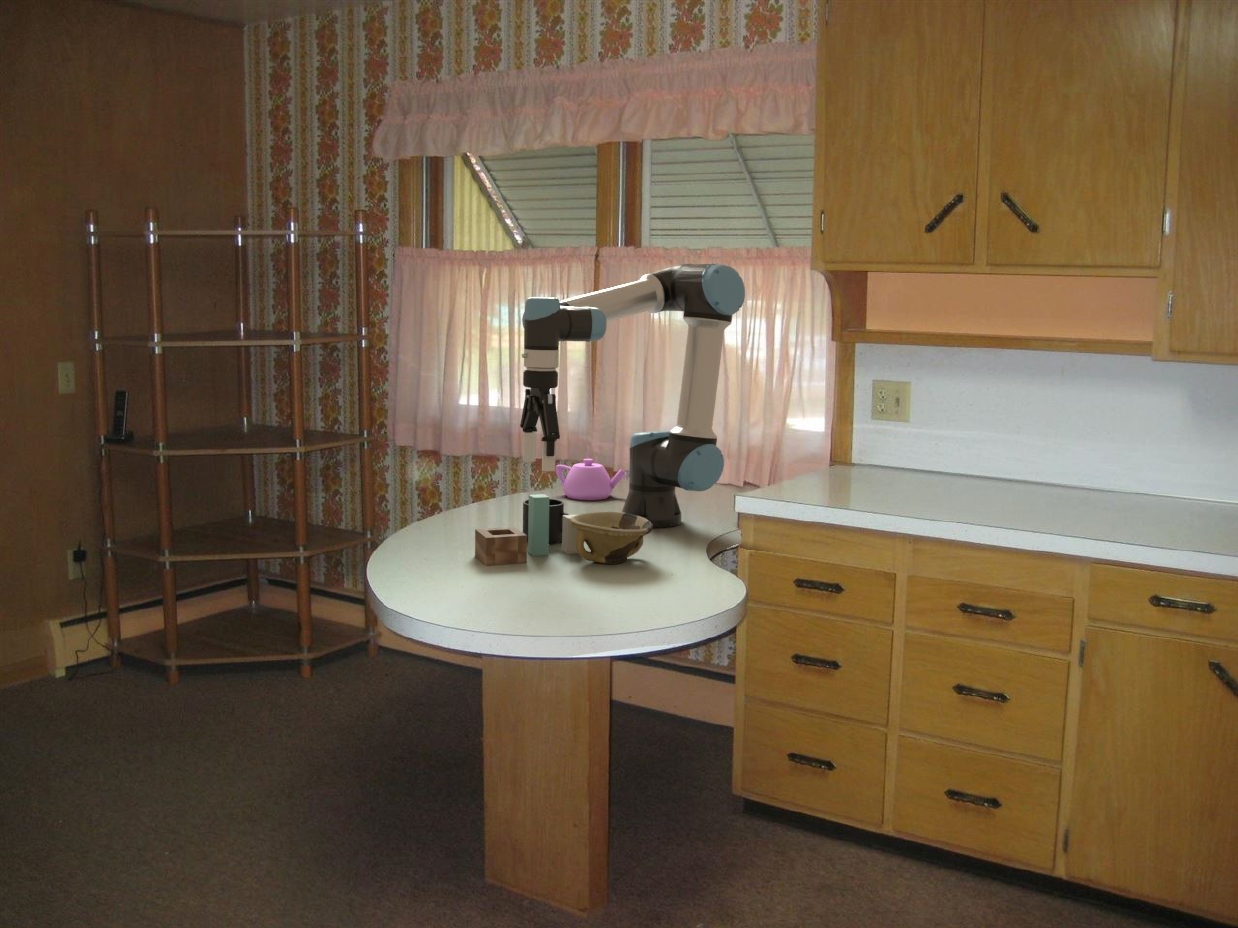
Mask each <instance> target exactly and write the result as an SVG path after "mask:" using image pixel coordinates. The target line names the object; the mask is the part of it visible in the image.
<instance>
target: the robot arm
mask: <svg viewBox="0 0 1238 928" xmlns="http://www.w3.org/2000/svg"><path fill="white" fill-rule="evenodd" d="M745 298H746V289H745V282H744V281H743V278H742V277H741V276H740V273H739V272H738V271H737V270H736V269H735V268H734V267H732V266H729V265H726V264H719V263H683V264H676V265H674V266H671V267H670V266H669V267H667V268H664V269H660V270H657V271H654V272H651V273H646V274H644V275H642V276H641V278H640V279H639V280H637V281H632V282H628V283H625V284H620V285H617V286H614V287H613V286H612V287H610V288H606V289H601V290H597V291H593V292H590V293H586V294H582V295H578V296H573V297H571V298H566V299H562V300H560V299H559V298H558V297H545V296H543V297H541V296H531V297H528V298H526V301H525V302H524V303H525V305H524V312H523V314H522V318H521V322H522V327H523V353H521V358H523V367H524V368H525V369H524V370H523V375H522V378H523V379H522V385H523V386H524V387H525V390H524V392H525V393H524V394H525V396H524V402H523V406H522V407H523V408H522V413H521V417H520V418H521V419H520V425H519V426H520V428H521V429H522V432H523V436H522V438H523V441H522V442H523V444H522V445H523V446H522V449H523V450H522V462H524V463H528V462H530V463H531V462H536V460H537V459H536V452H537V451H536V449H537V432H538V428H537V424H538V420H539V421H540V426H541V430H542V434H543V435H542V438H541V440H540V441H541V442H542V443H541V444H542V446H541V451H542V453H541V471H542V472H556V446H557V443H556V442H557V440H560V437H561V434H560V428H559V420H558V411H557V406H556V404H557V403H556V402H557V401H556V397H557V396H556V394H555V393H551V391H550V390H551V389H555V388H557V387H558V385H559V372H558V370H557V369H558V368H559V365H560V364H559V362H560V361H559V360H560V353H559V352H560V349H559V348H560V347H559V345H560V342H587V343H590V342H596V341H597V342H598V341H599V340H602V338H604V336H605V334H606V331H607V323H609V322H611V321H615V320H619V319H623V318H626V317H630V316H635V315H637V314H641V313H645V312H648V313H651V314H659V313H661V312H683V315H682V319H683V320H684V322H685V323H686V324H687V326H688V327H687V335H686V345H685V353H684V359H683V360H684V361H683V367H682V368H683V369H682V375H681V377H682V378H681V386H680V394H679V400H678V401H679V402H678V403H679V404H678V410H677V418H676V419H677V420H676V425H675V426H674V427H673V428H672V429H671V430H663V431H662V430H659V431H657V430H655V431H641V432H635V433H633V434H632V436H631V438H630V445H629V483H628V488H629V489H628V493H627V496H626V499H625V503H624V504H623V505H624V506H623V508H622V510H621V512H623V513H628V514H632V515H637V516H640V517H643V518H645V519H647V520H648V521H650V522H651V523H652V524H653V528H655V529H656V528H659V529H661V528H669V527H670V528H671V527H676V526H679V525H681V524H682V511H681V509H680V508H681V507H680V504H679V501H678V498H677V494H676V488H680V489H683V490H684V491H688V492H689V491H690V492H691V491H692V492H704V491H707V490H710V489H711V488H712V487H714V484H716V483H718V482H719V480H720V478H721V476H722V474H723V471H724V466H725V458H724V454H723V453H722V451H721V449H720V448H719V447H718V446H717V442H718V436H717V434H716V433H715V432H714V430H713V424H714V417H715V416H714V415H715V407H716V400H717V390H718V384H719V374H720V365H721V359H722V351H723V342H724V334H725V330H726V329H727V328H728V327H730V326H731V324H732V322H733V321H732V320H733V315H735V314H736V313H738V312H739V311H740V308H742V307H743V305H744V302H745ZM653 528H652V529H653Z"/></svg>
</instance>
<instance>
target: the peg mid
mask: <svg viewBox="0 0 1238 928" xmlns="http://www.w3.org/2000/svg"><path fill="white" fill-rule="evenodd" d="M576 515H577V514H569V515H563V525H562V541H561V542H562V543H561V550H562V552H564V553H565V554H567V555H571V554H579V553H578V552H577V549H576V539H577V536H578V532H579V531H578V530H577V529H576V528H574V527H572V525H571V521H570V519H571V518H572V517H574V516H576Z"/></svg>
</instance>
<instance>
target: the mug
mask: <svg viewBox="0 0 1238 928" xmlns="http://www.w3.org/2000/svg"><path fill="white" fill-rule="evenodd" d="M564 507H565V504H564V501H563V500H559V499H554V498H549V545H554V544H559V543H561V542H562V525H563V515H570V514H569V513H567V512H565V511H564V509H565V508H564ZM528 512H529V499H526V500H524V501H523V502H522V532H523V533H524V534H526V535H527V542H528Z"/></svg>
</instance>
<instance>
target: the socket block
mask: <svg viewBox="0 0 1238 928" xmlns="http://www.w3.org/2000/svg"><path fill="white" fill-rule="evenodd" d="M474 532H475V533H474V556H475V558H477V559H478V560H479V561H480V562H481V563H482V564H484V565H485V566H498V565H501V566H502V565H513V564H527V563H528V543H527V535H526V534H524V533H523V530H522V531H521V530H520V529H518V528H517V527H516V526H507V527H504V526H503V527H491V528H488V527H486V528H475V529H474Z"/></svg>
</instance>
